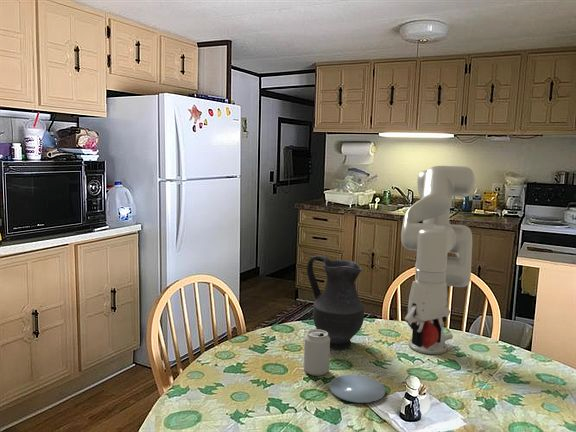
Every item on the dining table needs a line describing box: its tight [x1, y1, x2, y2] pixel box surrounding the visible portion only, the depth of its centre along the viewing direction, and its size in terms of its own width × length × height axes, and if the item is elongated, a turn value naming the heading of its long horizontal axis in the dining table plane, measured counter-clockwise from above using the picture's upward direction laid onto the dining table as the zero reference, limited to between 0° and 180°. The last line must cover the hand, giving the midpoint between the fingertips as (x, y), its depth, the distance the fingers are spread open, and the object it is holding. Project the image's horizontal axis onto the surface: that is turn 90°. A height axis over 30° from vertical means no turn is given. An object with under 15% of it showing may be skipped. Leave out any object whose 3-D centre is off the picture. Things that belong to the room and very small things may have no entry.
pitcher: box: [306, 254, 365, 351], centre depth 162 cm, size 17×21×30 cm
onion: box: [421, 320, 439, 348], centre depth 126 cm, size 6×6×8 cm
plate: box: [329, 374, 386, 404], centre depth 131 cm, size 15×15×1 cm
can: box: [303, 328, 331, 377], centre depth 141 cm, size 8×8×12 cm
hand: (426, 342), depth 126 cm, fingers closed on onion, 5 cm apart
